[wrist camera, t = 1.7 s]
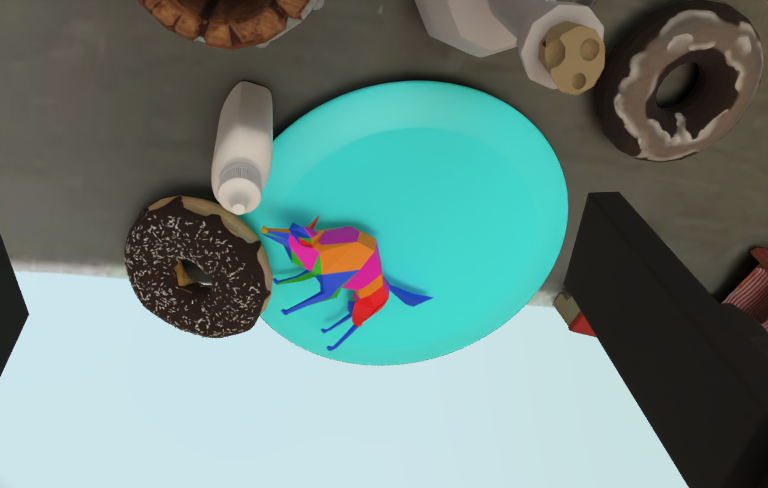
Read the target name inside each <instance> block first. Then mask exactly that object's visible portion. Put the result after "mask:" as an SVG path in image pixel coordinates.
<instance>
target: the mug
mask: <svg viewBox="0 0 768 488" xmlns="http://www.w3.org/2000/svg"><path fill="white" fill-rule="evenodd" d="M138 2H139V3H140V4H141V5H142V6H143V7H144V8H145V9H146V10H147V11H148V12H149V13H150V14H151V15H152V16H153V17H155V18H156V19H157V20H158V21H159V22H160V23H161V24H162V25H163V26H164V27H165V28H166V29H167V30H169V31H172V32H174V33H176V34H178V35H180V36H182V37H184V38H186V39H188V40H189V41H192V42H193V41H197V40H199V41H201V42H203V43H206V45H207V46H209V47H216V48H224V49H231V50H235V49H239V48H244V47H249V46H253V45H255V46H257V47H258V48H265V47H267V46H268V44H269V43H270V41H273V40H275V39H277V38H278V37H280V36H281V35H283V34H285V33H286V32H288V31H289V30H291V29H292V28H294V27H295V26H297V25H298V24H300V23H302V22H303V21H304V20H305V18H306V17H307V16H308V14H309V13H310V11H311V10H319V9H320V8H322V6H323V4H324V0H138Z"/></svg>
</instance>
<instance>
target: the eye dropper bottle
mask: <svg viewBox="0 0 768 488" xmlns="http://www.w3.org/2000/svg"><path fill="white" fill-rule="evenodd" d="M272 157H273V103H272V96H271V93H270V91H269V89H267V88H266V87H263V86H260V85H257V84H253V83H250V82H246V81H242V82H240V83H238V84H237V85H236V86H235V87H234V88H233V90H232V91H231V92H230V94H229V95H228V97H227V99H226V101H225V103H224V105H223V108H222V111H221V114H220V119H219V125H218V131H217V137H216V144H215V150H214V156H213V163H212V171H211V182H212V189H213V193H214V196H215V198H216V199H217V201H218V202H219V203H221V205H222V206H223V208H225V209H226V210H228V211H230V212H232V213H234V214H236V215H241V214H244V213H248V212H250V211H252V210H254V209H256V207H257V206H258V205H259V203H260V201H261V195H262V190H263V189H264V187H265V185H266V183H267V181H268V178H269V175H270V171H271V166H272Z"/></svg>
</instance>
